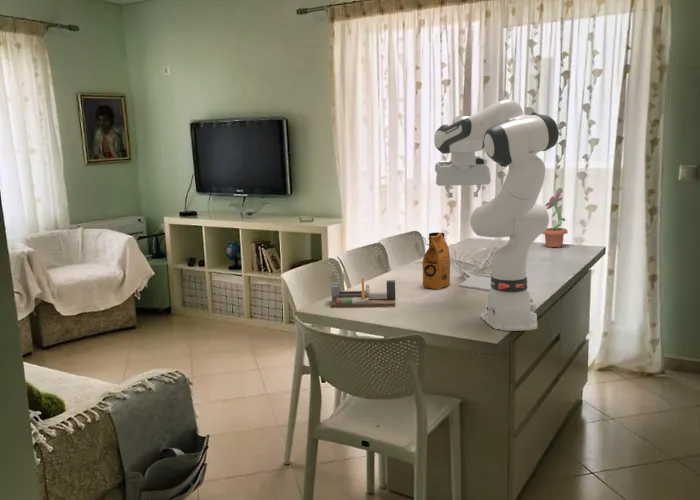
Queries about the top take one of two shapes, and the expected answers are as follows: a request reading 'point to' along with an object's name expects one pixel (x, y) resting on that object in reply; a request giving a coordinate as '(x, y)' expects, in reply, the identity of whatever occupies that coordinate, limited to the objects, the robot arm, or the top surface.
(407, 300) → the top surface
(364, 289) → the orange angled bar
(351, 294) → the gauge base
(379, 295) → the grey notched block
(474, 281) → the gadget
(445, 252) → the coffee package
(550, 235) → the decorative flower
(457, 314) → the top surface
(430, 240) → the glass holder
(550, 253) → the top surface
